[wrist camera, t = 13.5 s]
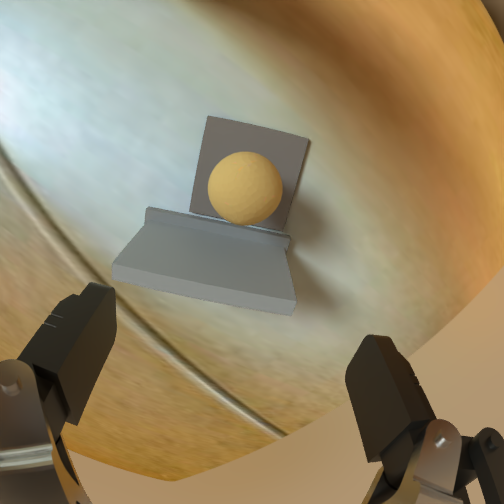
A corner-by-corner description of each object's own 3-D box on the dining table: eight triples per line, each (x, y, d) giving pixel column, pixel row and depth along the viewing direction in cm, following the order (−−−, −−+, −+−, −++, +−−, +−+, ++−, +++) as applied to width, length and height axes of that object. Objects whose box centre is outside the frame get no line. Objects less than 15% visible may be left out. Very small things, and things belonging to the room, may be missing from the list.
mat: (208, 115, 30) (207, 115, 29) (308, 138, 31) (308, 139, 30) (189, 210, 34) (189, 211, 34) (282, 230, 35) (283, 231, 35)
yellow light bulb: (286, 179, 32) (302, 205, 23) (240, 212, 34) (237, 250, 25) (251, 133, 30) (253, 139, 21) (204, 169, 32) (186, 190, 23)
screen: (148, 206, 34) (106, 249, 23) (289, 235, 36) (307, 290, 25) (145, 237, 35) (107, 289, 25) (280, 265, 37) (292, 327, 26)
